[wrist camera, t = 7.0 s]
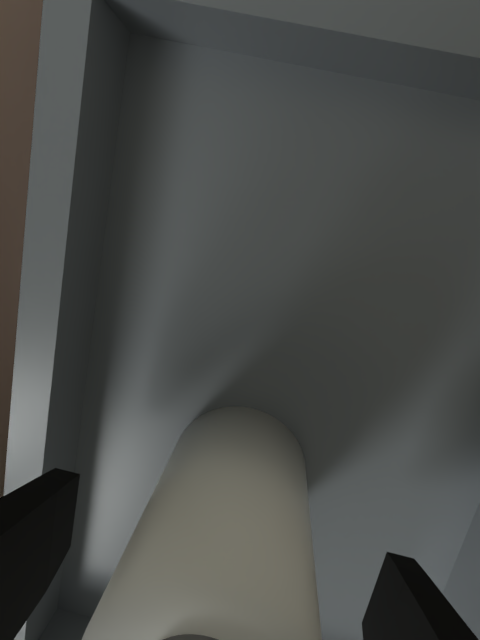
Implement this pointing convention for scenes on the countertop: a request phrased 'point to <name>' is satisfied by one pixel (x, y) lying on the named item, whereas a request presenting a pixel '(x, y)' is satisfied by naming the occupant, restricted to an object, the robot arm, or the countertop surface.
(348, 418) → the tray
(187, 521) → the cell
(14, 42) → the countertop surface
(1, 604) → the robot arm
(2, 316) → the countertop surface
